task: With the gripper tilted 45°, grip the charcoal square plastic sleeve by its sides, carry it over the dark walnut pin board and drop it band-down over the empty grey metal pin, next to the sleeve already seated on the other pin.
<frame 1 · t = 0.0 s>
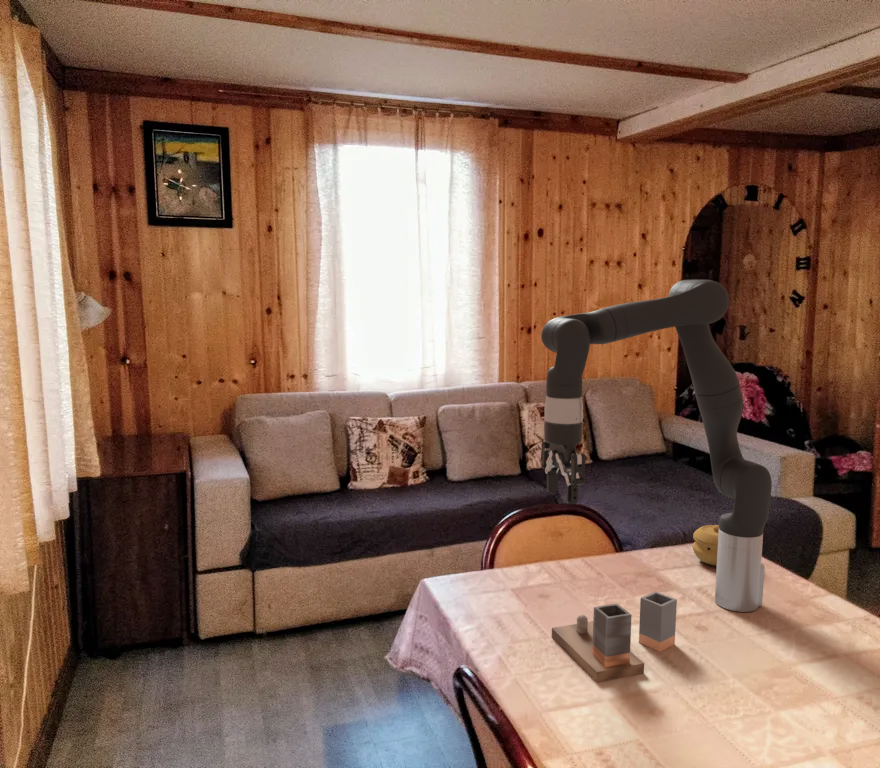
hand: (561, 497, 148), 29 cm above the table, tool pointing down, fingers open, 8 cm apart
pot: (715, 563, 190), on the table
pin board: (595, 654, 143), on the table
sleeve: (656, 643, 148), on the table
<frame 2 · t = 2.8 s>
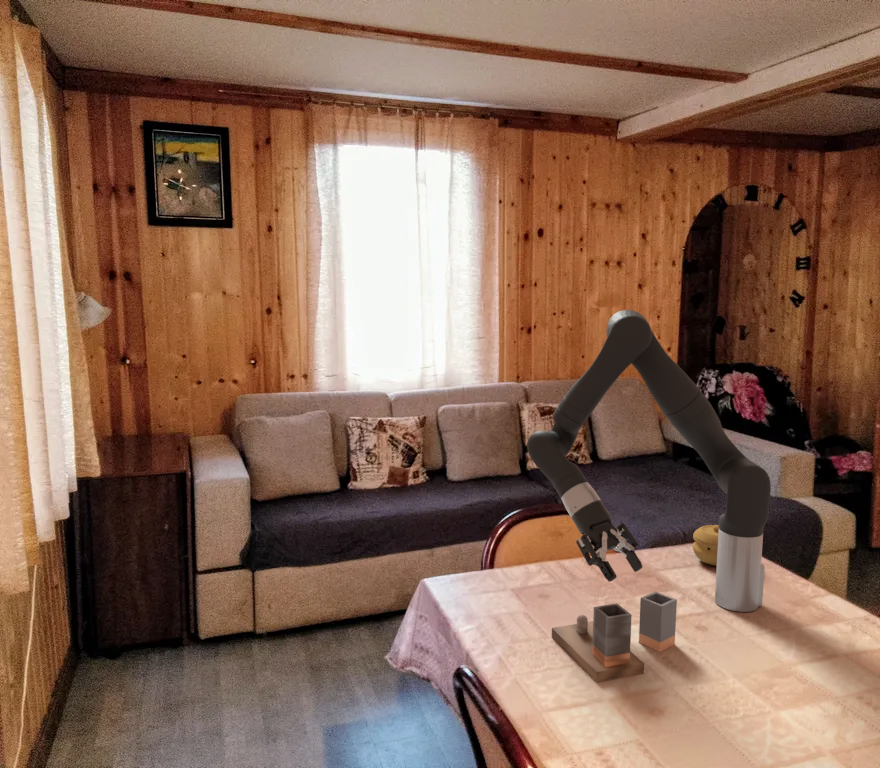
hand: (626, 574, 152), 12 cm above the table, tool tilted 45°, fingers open, 8 cm apart
nothing on the table moved.
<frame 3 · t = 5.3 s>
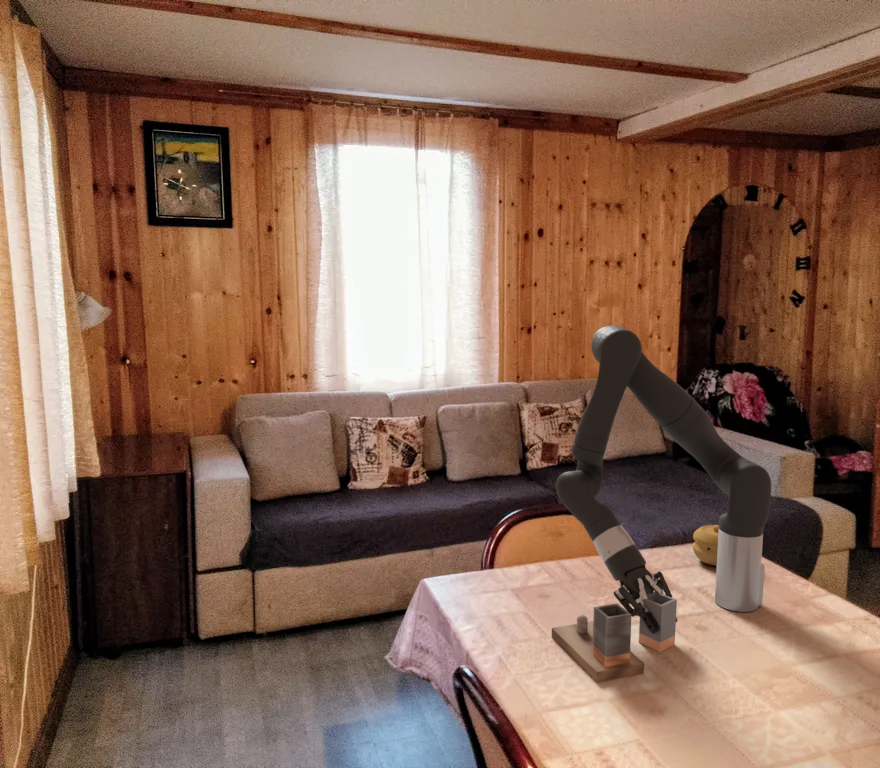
hand: (665, 627, 146), 4 cm above the table, tool tilted 45°, fingers closed on sleeve, 5 cm apart
sleeve: (656, 643, 148), on the table, touching gripper
everything else where it was.
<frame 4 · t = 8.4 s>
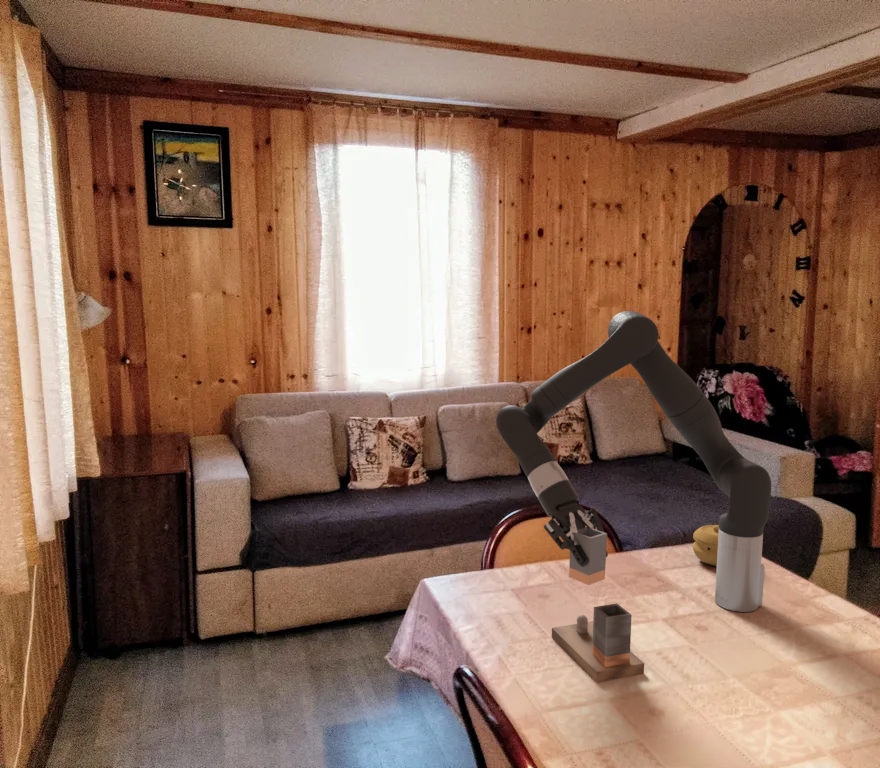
hand: (595, 561, 144), 18 cm above the table, tool tilted 45°, fingers closed on sleeve, 5 cm apart
sleeve: (586, 577, 146), point 14 cm above the table, touching gripper
everything else where it was.
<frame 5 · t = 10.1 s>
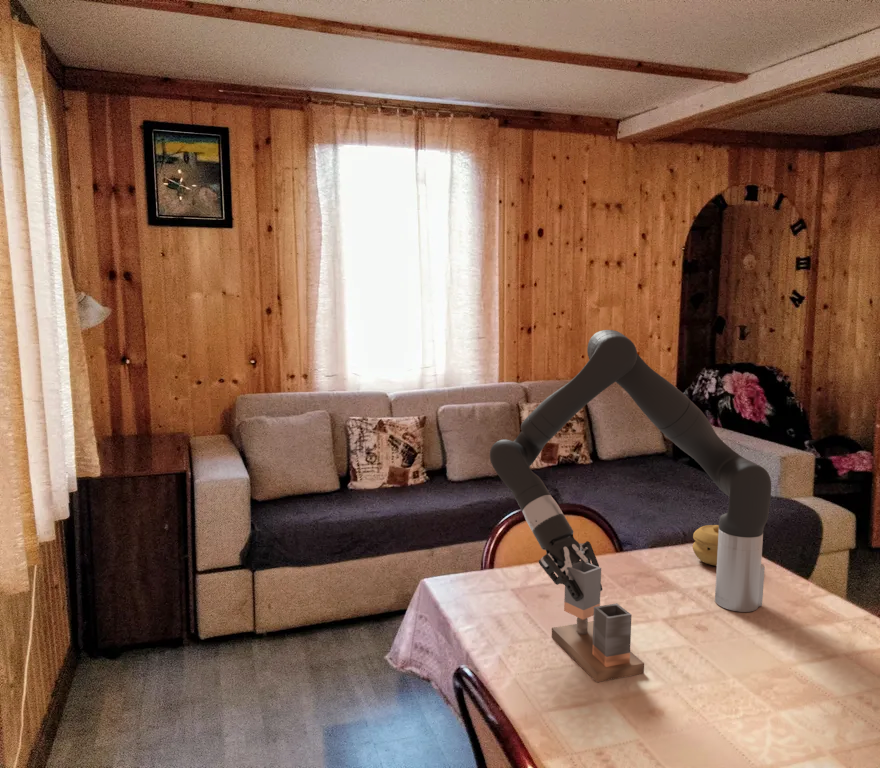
hand: (589, 595, 146), 10 cm above the table, tool tilted 45°, fingers closed on sleeve, 5 cm apart
sleeve: (581, 611, 148), point 6 cm above the table, touching gripper
everything else where it was.
when the fingers open (8 cm above the table, at t = 11.3 s): sleeve drops 1 cm, resting on pin board.
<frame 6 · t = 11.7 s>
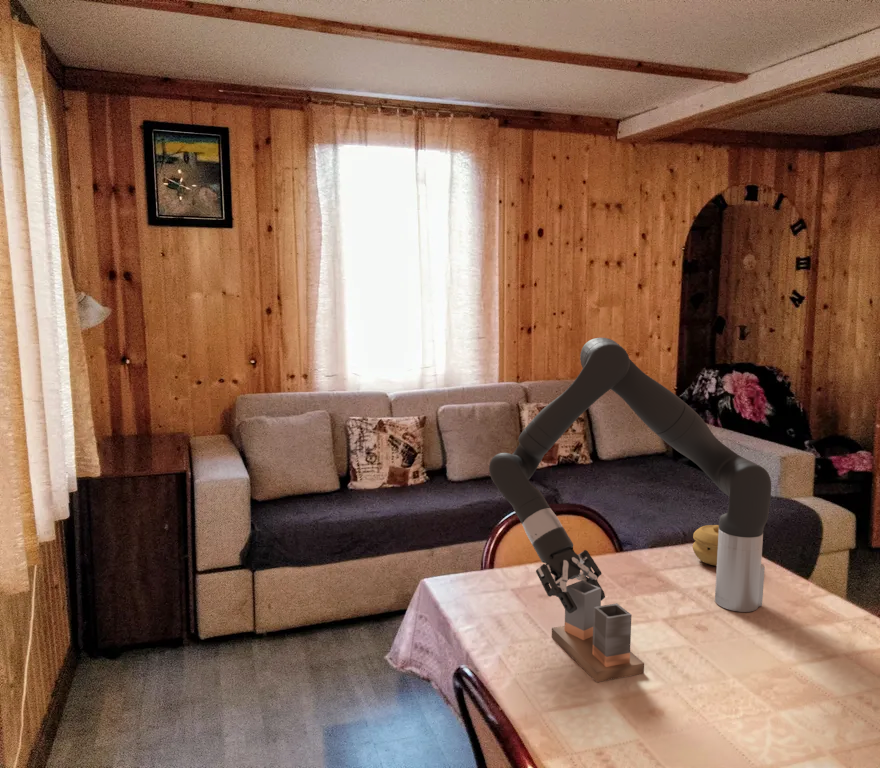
hand: (587, 605, 146), 8 cm above the table, tool tilted 45°, fingers open, 8 cm apart
sleeve: (582, 631, 148), point 2 cm above the table, touching pin board
everything else where it was.
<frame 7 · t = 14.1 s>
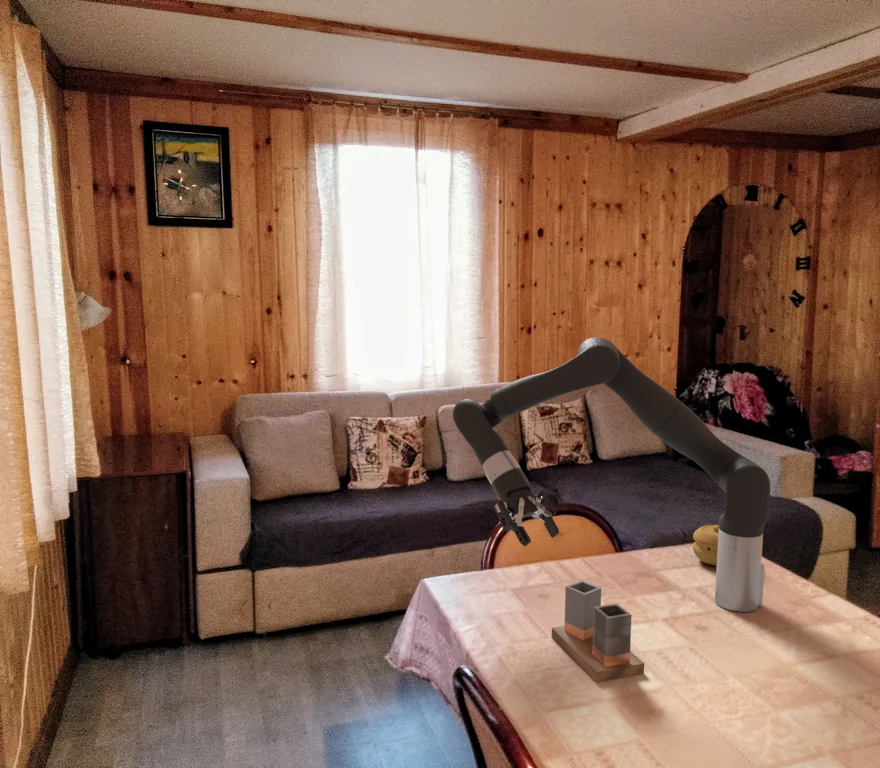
hand: (542, 539, 155), 18 cm above the table, tool tilted 45°, fingers open, 8 cm apart
nothing on the table moved.
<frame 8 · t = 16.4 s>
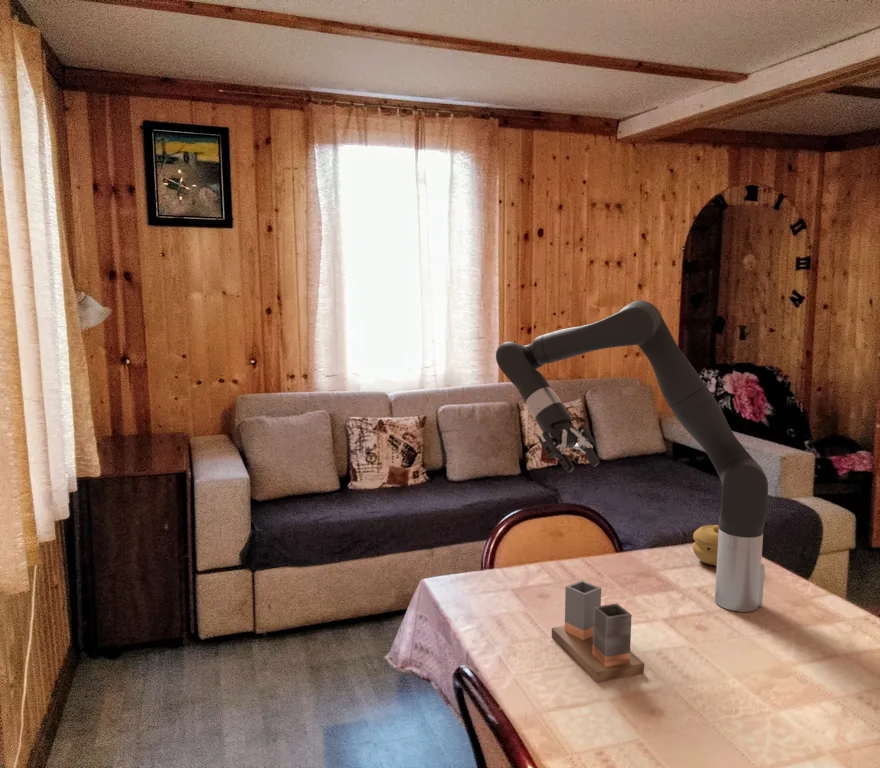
hand: (584, 467, 166), 31 cm above the table, tool tilted 45°, fingers open, 8 cm apart
nothing on the table moved.
at the end: sleeve 0.1 cm from the target spot on the pin board, point 2.0 cm above the pin board's base; sleeve tilted 0°; the gripper is holding nothing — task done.
